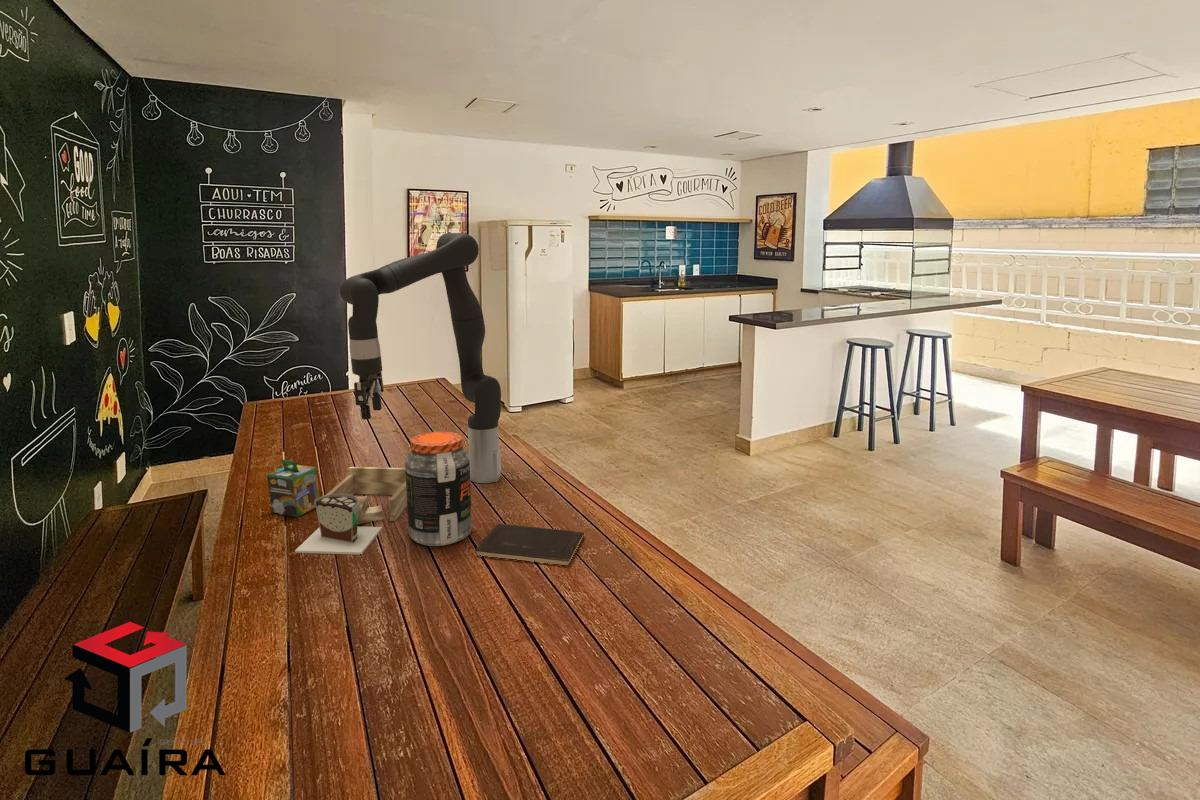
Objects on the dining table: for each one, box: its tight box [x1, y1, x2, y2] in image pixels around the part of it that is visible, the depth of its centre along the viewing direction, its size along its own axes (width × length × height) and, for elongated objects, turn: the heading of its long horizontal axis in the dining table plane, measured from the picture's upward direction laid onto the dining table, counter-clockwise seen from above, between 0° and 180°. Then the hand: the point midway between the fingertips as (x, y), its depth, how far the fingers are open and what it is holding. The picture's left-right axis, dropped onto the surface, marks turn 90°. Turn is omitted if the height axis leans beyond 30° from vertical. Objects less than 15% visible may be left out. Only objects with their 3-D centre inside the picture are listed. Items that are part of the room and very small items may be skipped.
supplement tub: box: [404, 431, 473, 547], centre depth 165 cm, size 16×16×26 cm
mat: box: [294, 525, 383, 556], centre depth 164 cm, size 16×14×1 cm
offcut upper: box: [354, 495, 369, 519], centre depth 174 cm, size 8×4×3 cm, turn 7°
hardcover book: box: [474, 522, 585, 566], centre depth 162 cm, size 16×23×2 cm
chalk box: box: [266, 458, 321, 518], centre depth 180 cm, size 9×9×15 cm
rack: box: [324, 466, 407, 522], centre depth 184 cm, size 19×19×8 cm
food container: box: [314, 494, 361, 543], centre depth 164 cm, size 12×6×10 cm, turn 71°
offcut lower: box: [357, 505, 384, 525], centre depth 175 cm, size 12×4×3 cm, turn 117°
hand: (372, 414), depth 176 cm, fingers open, 8 cm apart
